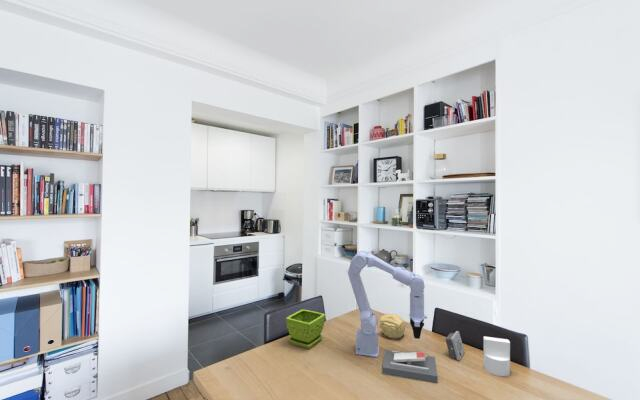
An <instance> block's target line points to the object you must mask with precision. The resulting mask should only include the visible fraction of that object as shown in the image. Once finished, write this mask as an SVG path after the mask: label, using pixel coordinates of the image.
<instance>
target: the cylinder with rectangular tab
mask: <svg viewBox="0 0 640 400" xmlns="http://www.w3.org/2000/svg"><path fill="white" fill-rule="evenodd" d="M483 369H484V370H485V371H486V372H487V373H489V374H491V375H494V376H497V377H502V378H503V377H509V376H510V375H511V374H510V373H511V341H510V340H509V339H507V338H501V337H500V338H499V337H492V336H486V335H485V336H483Z"/></svg>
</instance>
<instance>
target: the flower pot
mask: <svg viewBox="0 0 640 400" xmlns="http://www.w3.org/2000/svg"><path fill="white" fill-rule="evenodd" d="M325 319H326V314H325V313H321V312H318V311H313V310H308V309H304V308H303V309H300V310H298V311H296V312H294V313H293V314H290V315H289V316H287V317H286V318H285V322H286V328H287V331H288V333H289V336H290V337H289V338H288V341H289V342H290V343H291V344H293V345H296V346H299V347H303V348H305V349H311V347H312V346H314V345H315V344H317V343H318V342H319V341H321V340H322V339H323V337H324V336H323V335H322V332H323V329H324V325H325Z"/></svg>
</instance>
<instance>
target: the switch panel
mask: <svg viewBox="0 0 640 400" xmlns="http://www.w3.org/2000/svg"><path fill="white" fill-rule="evenodd" d="M409 352H410V351H407V352H404V351H398V350H391V349H385V350H384V355H383V360H382V367H381V368H382V370H381V371H382V372H381V374H382V375H387V376H388V375H389V376H394V377H398V378H399V377H400V378H406V379H411V380H419V381H422V382H423V381H424V382H428V383H429V382H430V383H436V384H438V381H439V380H438V371H437V370H438V369H437V365H436V363H437V361H436V357H435V356H432V355H426V354H425V361H411V360H407V362H394V353H409Z"/></svg>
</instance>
